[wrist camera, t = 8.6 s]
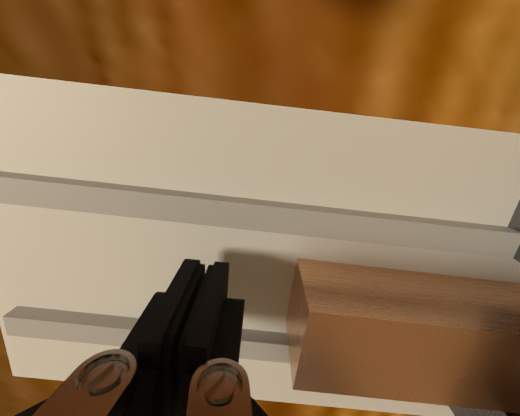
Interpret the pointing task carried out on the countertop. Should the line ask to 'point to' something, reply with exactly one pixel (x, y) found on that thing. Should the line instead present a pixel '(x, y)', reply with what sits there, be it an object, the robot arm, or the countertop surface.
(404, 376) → the bar
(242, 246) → the white rail board
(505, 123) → the countertop surface
